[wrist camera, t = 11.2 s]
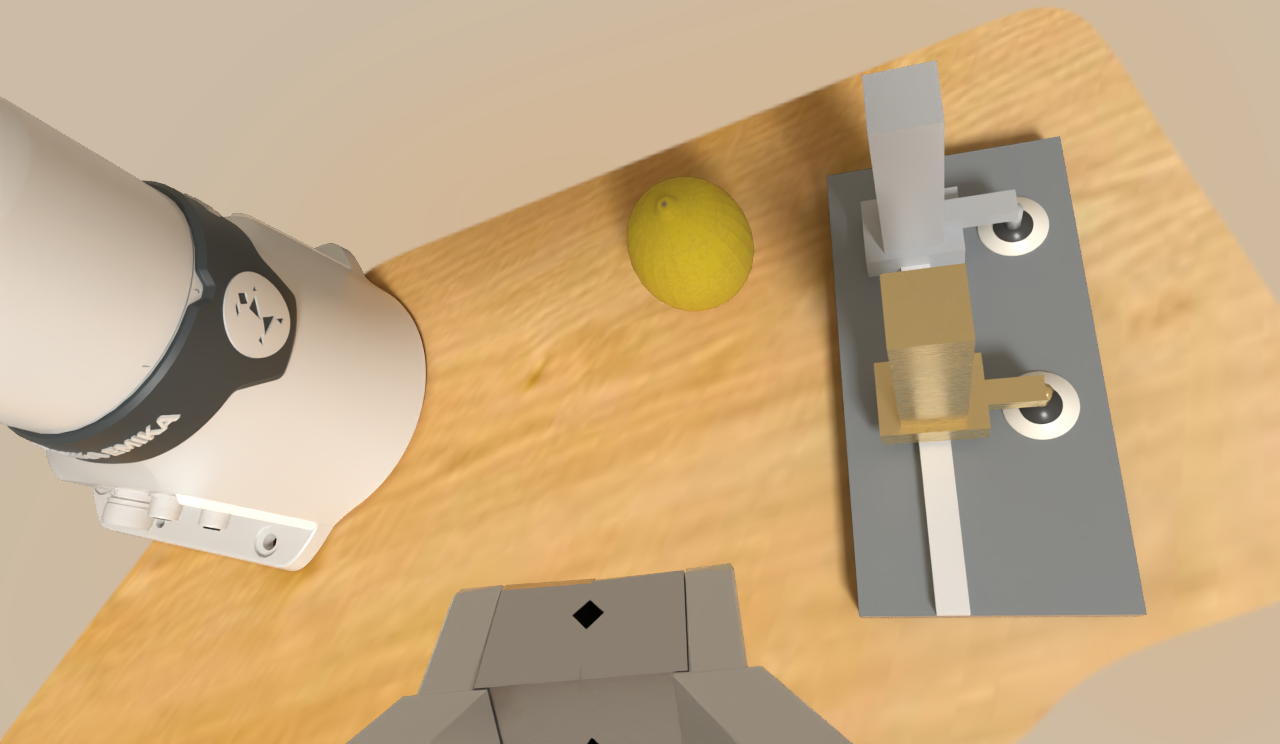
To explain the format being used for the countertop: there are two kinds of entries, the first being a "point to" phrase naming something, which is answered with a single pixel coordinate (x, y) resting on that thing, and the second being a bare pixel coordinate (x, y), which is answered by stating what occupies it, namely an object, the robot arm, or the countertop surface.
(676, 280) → the lemon
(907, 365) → the brass leg
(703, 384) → the countertop surface
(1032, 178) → the board
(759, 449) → the countertop surface
